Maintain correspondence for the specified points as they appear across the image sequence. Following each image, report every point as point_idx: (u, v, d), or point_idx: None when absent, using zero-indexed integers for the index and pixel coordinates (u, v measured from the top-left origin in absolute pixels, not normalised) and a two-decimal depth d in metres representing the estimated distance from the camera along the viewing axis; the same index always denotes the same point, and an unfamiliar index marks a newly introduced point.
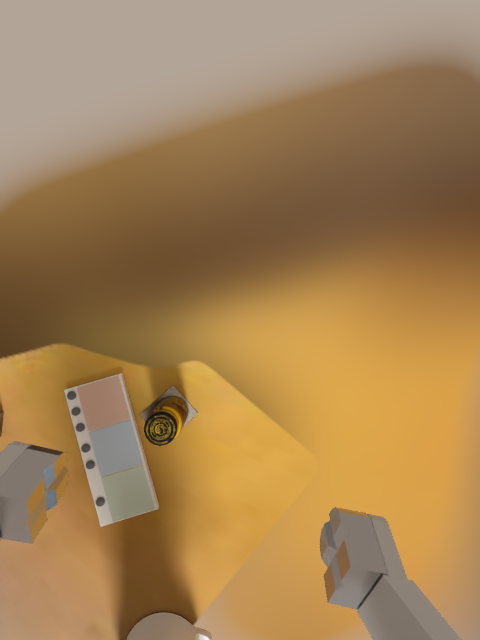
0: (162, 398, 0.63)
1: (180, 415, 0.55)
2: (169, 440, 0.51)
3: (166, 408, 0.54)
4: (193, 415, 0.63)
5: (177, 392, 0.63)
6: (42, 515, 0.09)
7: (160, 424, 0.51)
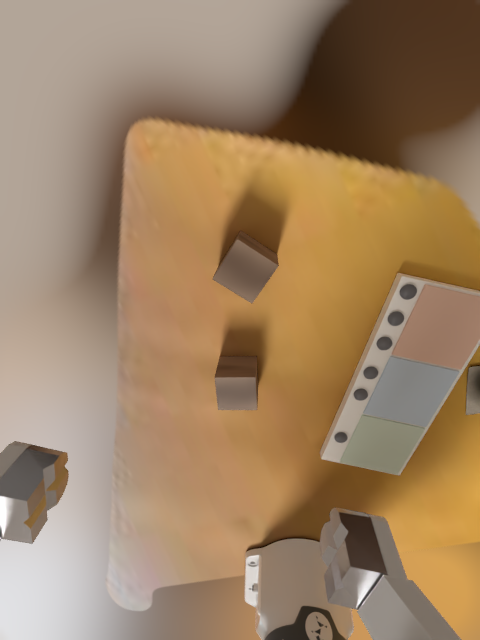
0: None
1: None
2: None
3: None
4: None
5: None
6: (43, 515, 0.09)
7: None
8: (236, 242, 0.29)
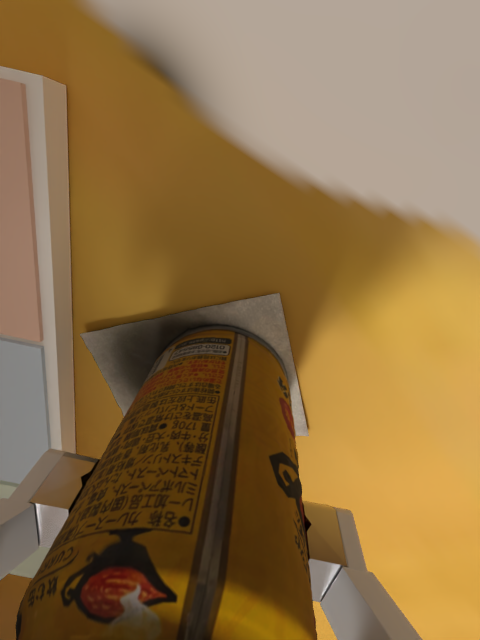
0: (203, 320, 0.13)
1: None
2: None
3: (251, 635, 0.05)
4: None
5: (279, 330, 0.13)
6: None
7: None
8: None
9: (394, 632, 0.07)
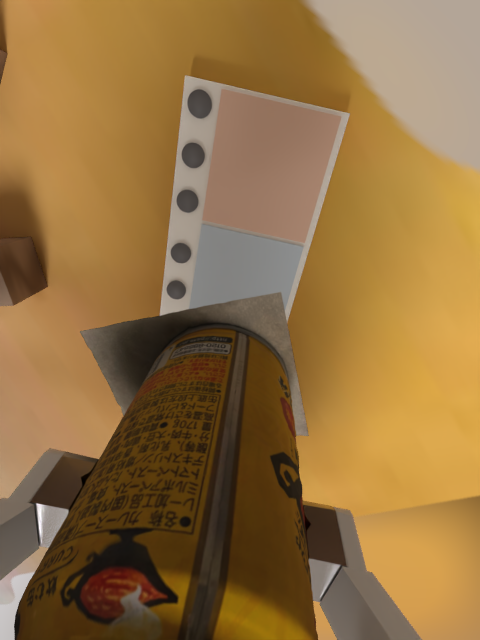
0: (204, 318, 0.13)
1: None
2: None
3: (252, 637, 0.05)
4: None
5: (281, 330, 0.13)
6: None
7: None
8: None
9: (393, 632, 0.07)
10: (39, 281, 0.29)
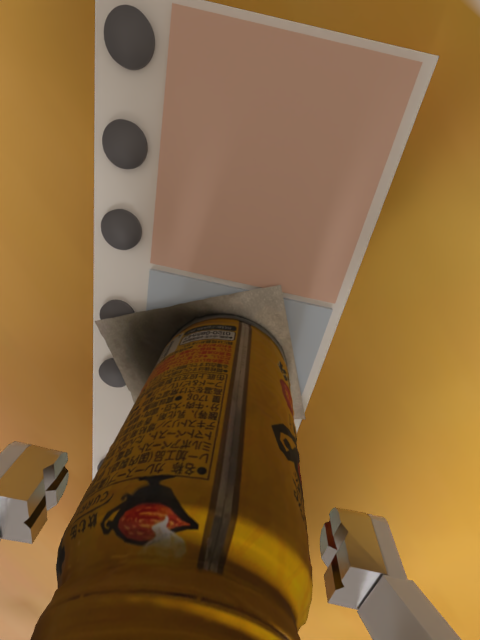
0: (209, 309, 0.14)
1: None
2: None
3: (259, 558, 0.06)
4: None
5: (280, 320, 0.14)
6: (42, 515, 0.09)
7: None
8: None
9: None
10: None
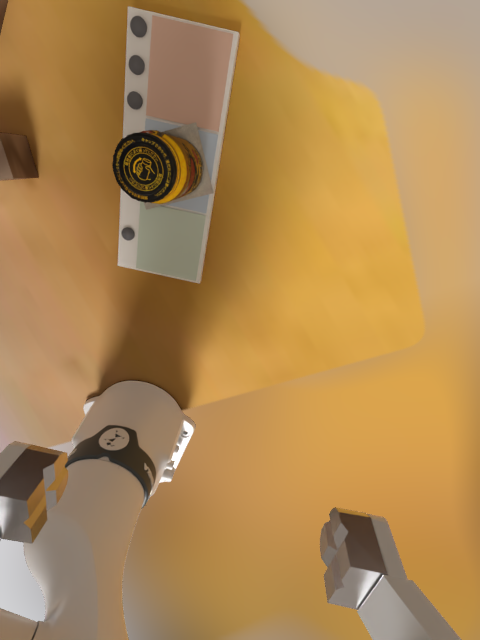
0: (169, 135, 0.36)
1: (187, 170, 0.29)
2: (151, 198, 0.27)
3: (169, 141, 0.28)
4: (205, 192, 0.38)
5: (197, 139, 0.36)
6: (42, 515, 0.09)
7: (146, 160, 0.26)
8: None
9: None
10: (32, 170, 0.39)
